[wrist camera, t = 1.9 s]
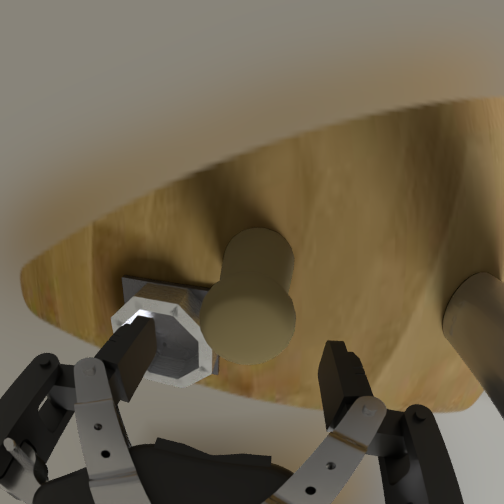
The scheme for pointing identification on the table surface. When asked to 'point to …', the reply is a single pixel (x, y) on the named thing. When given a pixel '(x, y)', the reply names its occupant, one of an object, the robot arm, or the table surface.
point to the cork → (251, 299)
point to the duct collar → (170, 329)
